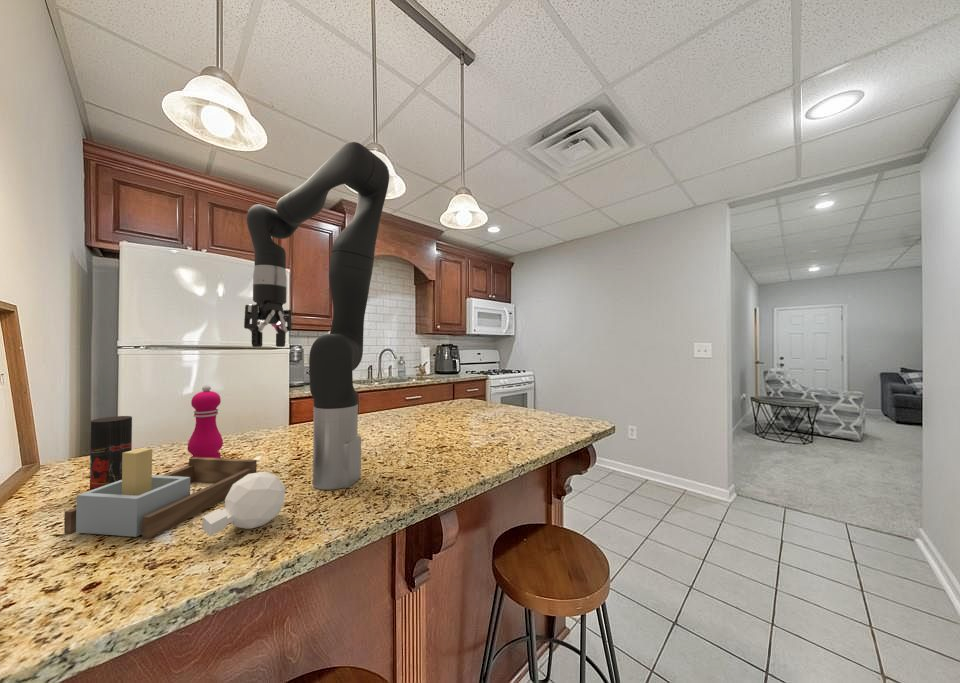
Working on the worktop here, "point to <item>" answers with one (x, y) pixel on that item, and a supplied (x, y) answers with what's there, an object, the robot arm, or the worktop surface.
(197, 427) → the pepper mill
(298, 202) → the robot arm
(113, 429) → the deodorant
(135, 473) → the box
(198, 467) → the bay
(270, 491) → the perfume bottle
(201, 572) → the worktop surface
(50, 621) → the worktop surface
